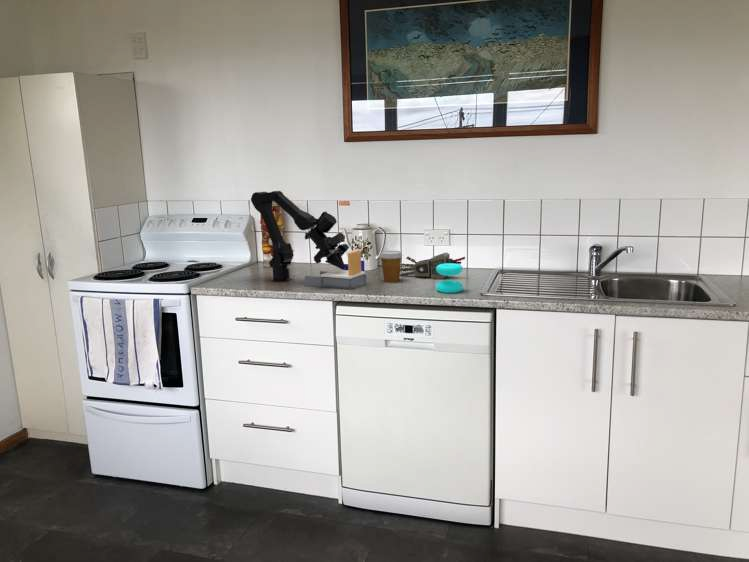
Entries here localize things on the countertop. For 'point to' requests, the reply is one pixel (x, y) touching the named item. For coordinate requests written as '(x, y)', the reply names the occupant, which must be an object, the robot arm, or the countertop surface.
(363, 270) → the cable clip
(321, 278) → the frame
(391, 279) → the disposable coffee cup
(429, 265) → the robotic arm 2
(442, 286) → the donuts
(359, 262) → the lid
